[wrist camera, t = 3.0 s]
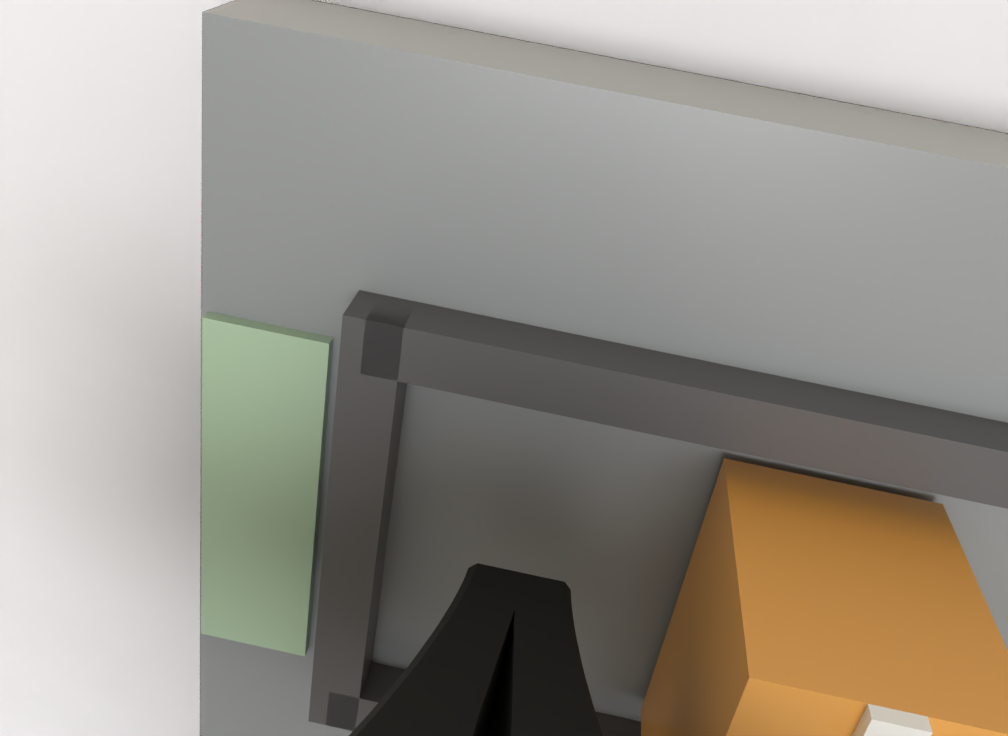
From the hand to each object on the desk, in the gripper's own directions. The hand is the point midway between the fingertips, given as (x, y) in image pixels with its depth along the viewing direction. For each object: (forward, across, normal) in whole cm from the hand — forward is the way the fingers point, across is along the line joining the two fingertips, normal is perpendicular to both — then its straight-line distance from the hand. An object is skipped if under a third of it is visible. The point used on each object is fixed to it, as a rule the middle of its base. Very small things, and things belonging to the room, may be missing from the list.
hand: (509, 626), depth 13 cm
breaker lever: (+1, -4, 0) cm, 4 cm away
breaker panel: (+4, -4, 0) cm, 5 cm away
